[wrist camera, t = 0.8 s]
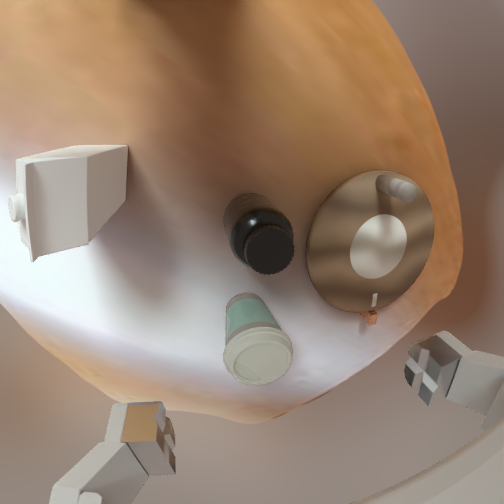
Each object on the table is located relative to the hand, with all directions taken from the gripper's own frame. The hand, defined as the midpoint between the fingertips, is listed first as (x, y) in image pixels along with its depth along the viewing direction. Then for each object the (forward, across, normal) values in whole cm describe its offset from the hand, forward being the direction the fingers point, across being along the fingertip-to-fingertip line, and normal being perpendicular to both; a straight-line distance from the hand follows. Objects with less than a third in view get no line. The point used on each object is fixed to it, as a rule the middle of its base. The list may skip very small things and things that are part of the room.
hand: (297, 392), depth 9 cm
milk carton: (+32, +14, -7) cm, 36 cm away
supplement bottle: (+32, -4, +1) cm, 33 cm away
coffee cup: (+34, -2, +15) cm, 37 cm away
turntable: (+31, -22, +7) cm, 39 cm away
